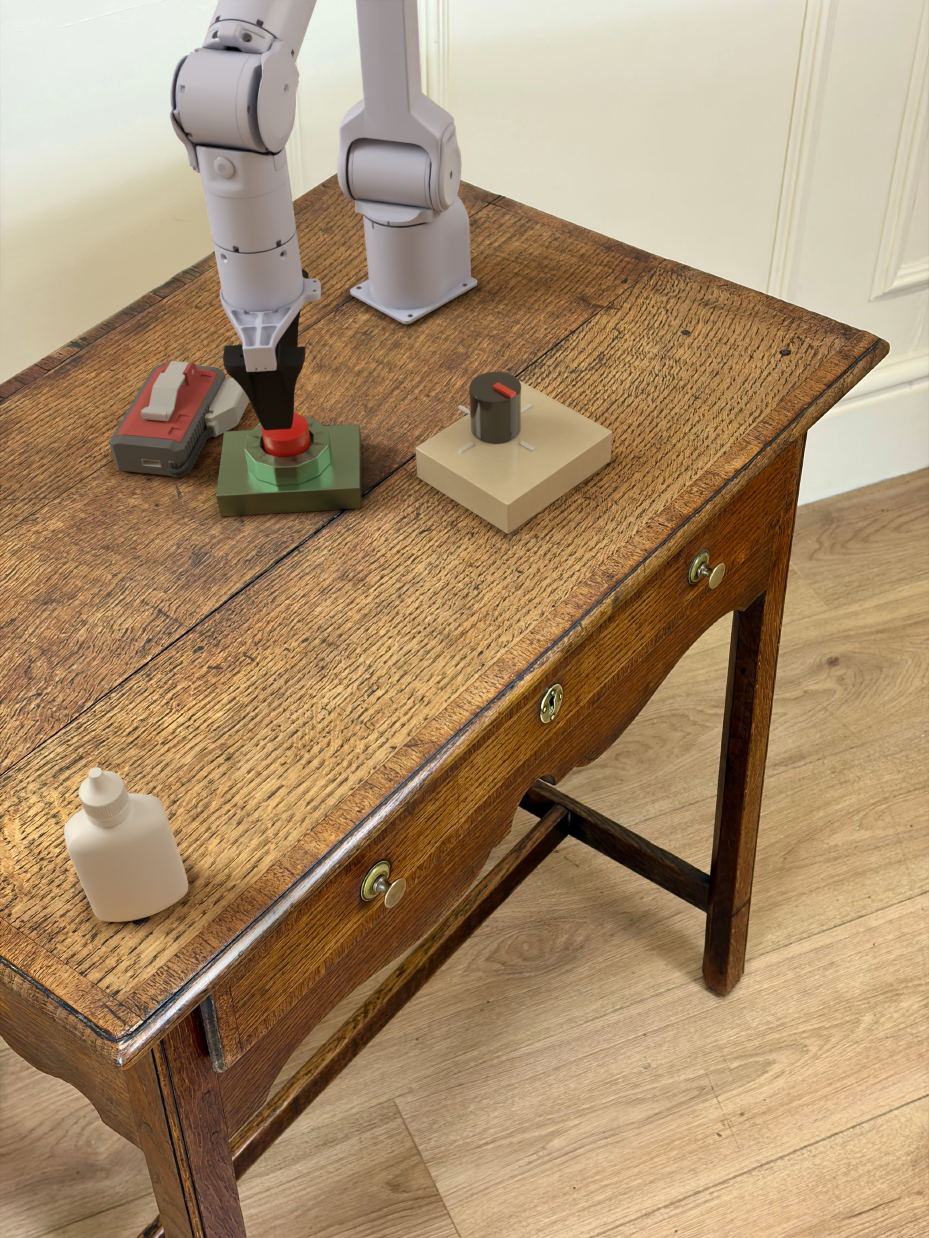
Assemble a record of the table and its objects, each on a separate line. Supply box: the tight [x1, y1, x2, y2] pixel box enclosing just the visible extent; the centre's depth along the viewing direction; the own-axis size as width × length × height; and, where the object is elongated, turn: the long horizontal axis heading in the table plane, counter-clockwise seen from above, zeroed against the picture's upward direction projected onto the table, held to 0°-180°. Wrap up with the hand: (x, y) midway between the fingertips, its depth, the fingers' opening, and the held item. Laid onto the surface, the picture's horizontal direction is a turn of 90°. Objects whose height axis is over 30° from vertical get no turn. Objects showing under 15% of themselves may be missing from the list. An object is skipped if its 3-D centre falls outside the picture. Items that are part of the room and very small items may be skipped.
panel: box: [414, 380, 613, 535], centre depth 103 cm, size 12×11×3 cm
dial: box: [468, 371, 521, 444], centre depth 101 cm, size 4×4×4 cm
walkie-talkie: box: [108, 360, 251, 479], centre depth 109 cm, size 9×4×20 cm
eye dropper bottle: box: [63, 766, 189, 923], centre depth 73 cm, size 4×6×12 cm
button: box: [261, 412, 311, 458], centre depth 101 cm, size 4×4×2 cm
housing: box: [215, 415, 363, 517], centre depth 102 cm, size 11×8×4 cm
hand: (280, 396), depth 98 cm, fingers open, 7 cm apart
